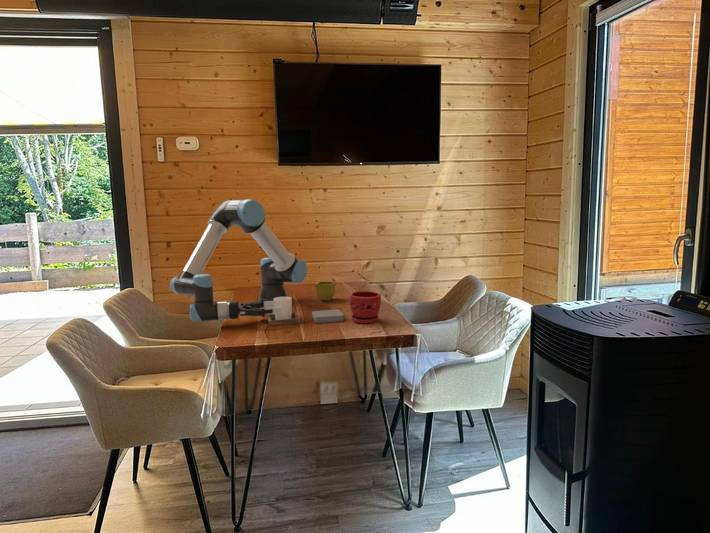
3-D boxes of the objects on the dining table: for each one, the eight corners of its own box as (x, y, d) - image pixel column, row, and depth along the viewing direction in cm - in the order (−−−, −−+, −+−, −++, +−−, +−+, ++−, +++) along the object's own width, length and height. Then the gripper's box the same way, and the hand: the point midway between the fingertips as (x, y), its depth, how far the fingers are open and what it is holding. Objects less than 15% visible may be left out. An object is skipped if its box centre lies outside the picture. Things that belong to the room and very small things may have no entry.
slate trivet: (312, 316, 215) (312, 311, 214) (338, 314, 217) (338, 309, 217) (315, 323, 203) (315, 317, 203) (343, 321, 206) (343, 315, 205)
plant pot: (348, 324, 199) (347, 296, 197) (352, 317, 212) (352, 290, 210) (379, 325, 197) (379, 296, 196) (382, 317, 210) (381, 290, 209)
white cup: (295, 319, 211) (294, 296, 209) (288, 323, 203) (287, 300, 202) (278, 318, 213) (278, 296, 212) (271, 322, 205) (270, 299, 204)
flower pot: (315, 301, 249) (315, 284, 248) (320, 297, 257) (320, 281, 256) (331, 301, 247) (331, 284, 246) (336, 298, 255) (336, 281, 254)
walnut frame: (267, 318, 213) (267, 314, 213) (297, 316, 216) (296, 312, 215) (268, 325, 200) (268, 321, 200) (300, 323, 203) (299, 318, 203)
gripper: (230, 312, 215) (278, 309, 219) (227, 326, 191) (281, 322, 195) (229, 296, 214) (277, 293, 218) (226, 307, 190) (281, 304, 194)
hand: (279, 306), depth 207 cm, fingers open, 13 cm apart
